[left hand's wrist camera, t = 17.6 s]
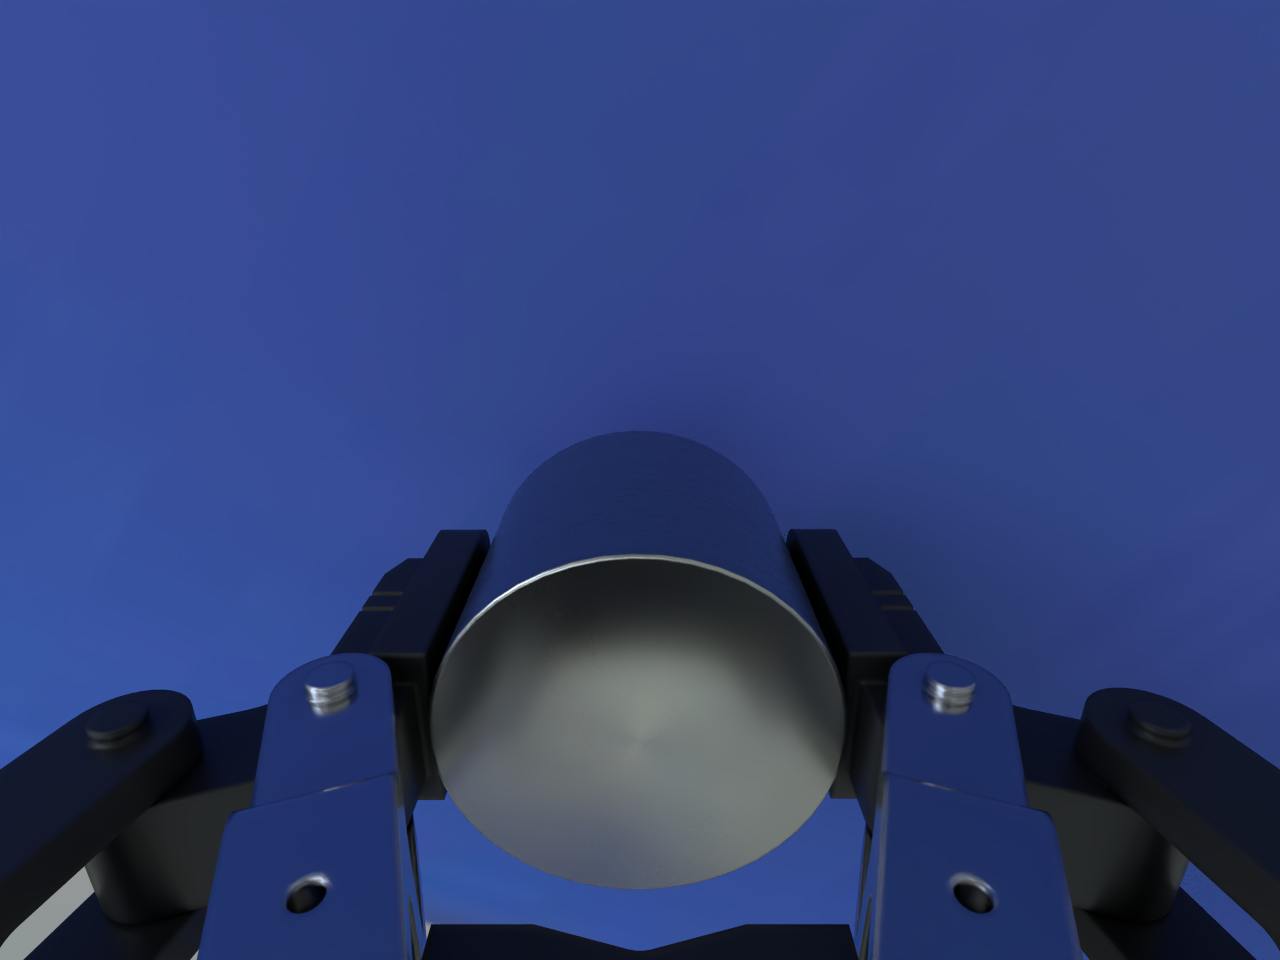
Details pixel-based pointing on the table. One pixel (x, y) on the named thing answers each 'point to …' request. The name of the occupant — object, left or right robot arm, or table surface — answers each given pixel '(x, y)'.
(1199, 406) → the table surface
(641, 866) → the can
